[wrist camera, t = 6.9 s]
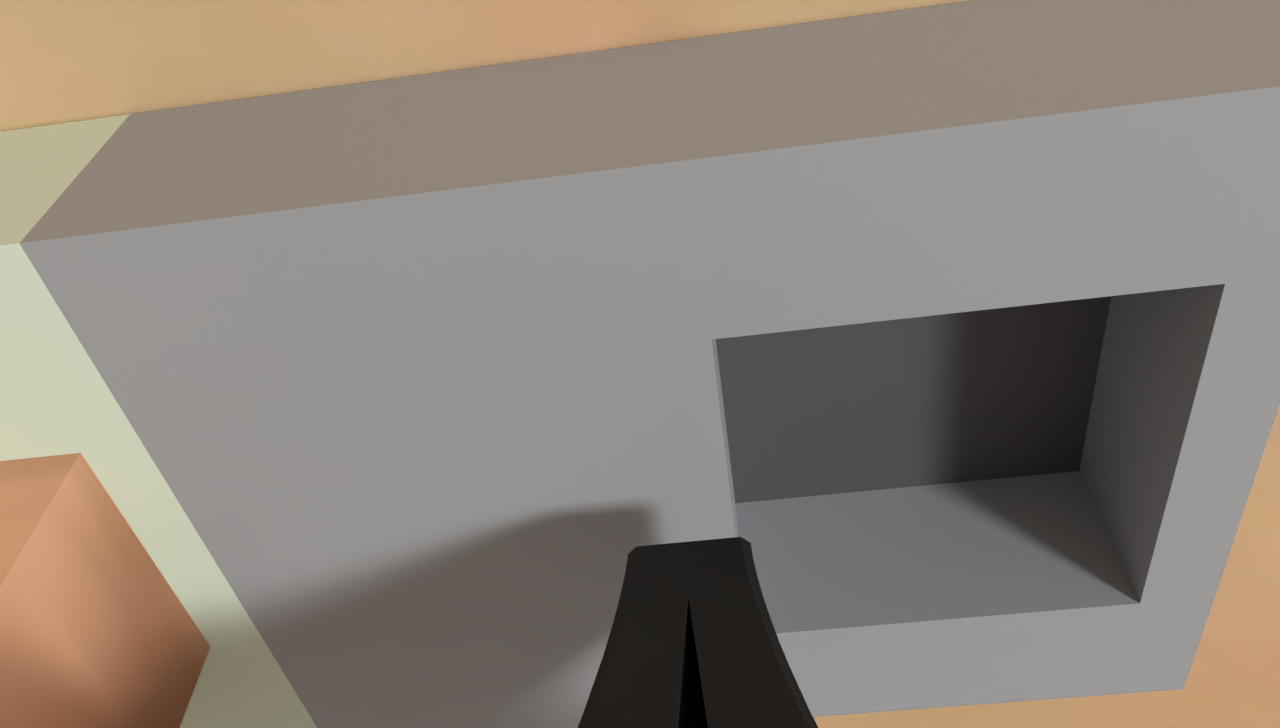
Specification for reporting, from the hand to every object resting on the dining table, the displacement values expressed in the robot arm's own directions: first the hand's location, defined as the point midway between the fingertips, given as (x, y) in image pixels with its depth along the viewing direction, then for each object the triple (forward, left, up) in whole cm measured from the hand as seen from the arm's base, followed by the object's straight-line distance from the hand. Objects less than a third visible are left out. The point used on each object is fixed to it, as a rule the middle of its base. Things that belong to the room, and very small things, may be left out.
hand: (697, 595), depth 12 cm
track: (0, +6, -4) cm, 7 cm away
